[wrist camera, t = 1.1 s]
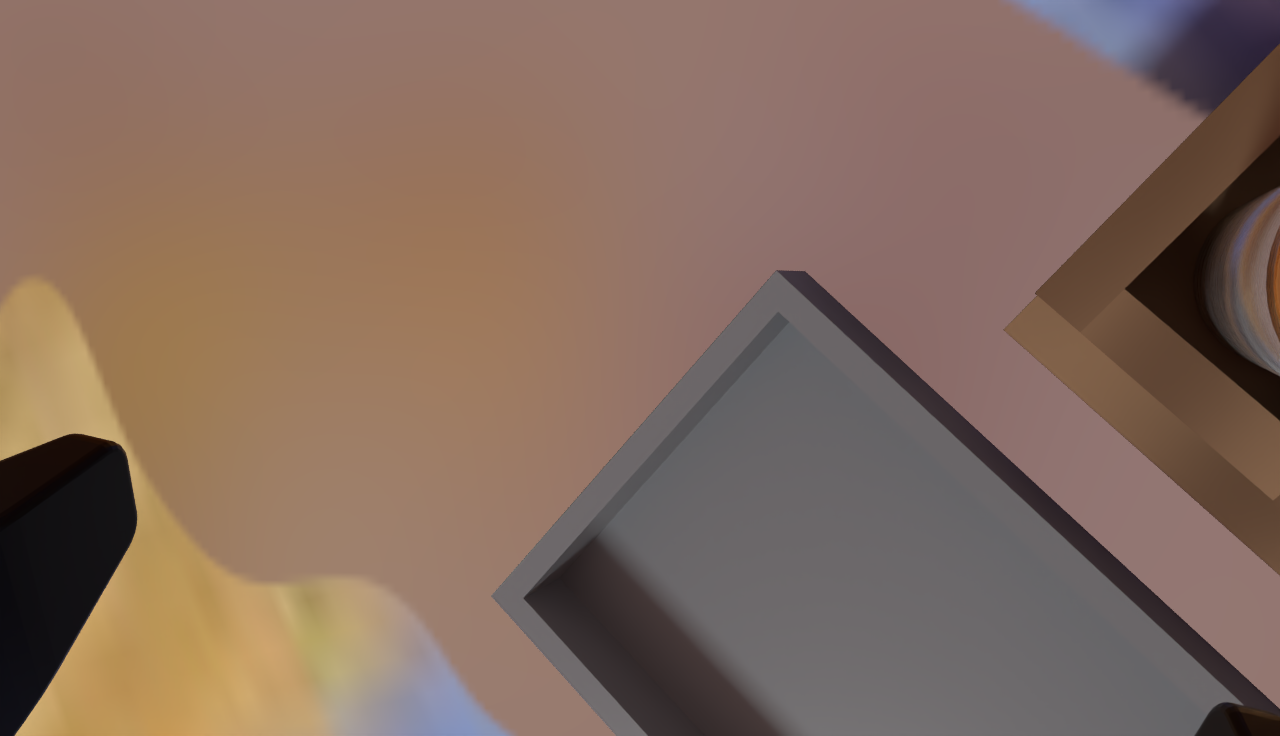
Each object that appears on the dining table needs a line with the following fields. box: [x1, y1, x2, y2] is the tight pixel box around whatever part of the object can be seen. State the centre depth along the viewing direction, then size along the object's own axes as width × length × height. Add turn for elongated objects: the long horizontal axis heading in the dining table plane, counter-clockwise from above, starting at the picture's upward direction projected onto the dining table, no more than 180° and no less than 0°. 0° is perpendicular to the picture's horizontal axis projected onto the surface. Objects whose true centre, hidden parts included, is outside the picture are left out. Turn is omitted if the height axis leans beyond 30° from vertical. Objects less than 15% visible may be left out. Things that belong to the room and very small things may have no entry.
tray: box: [492, 270, 1280, 736], centre depth 24 cm, size 14×10×2 cm
